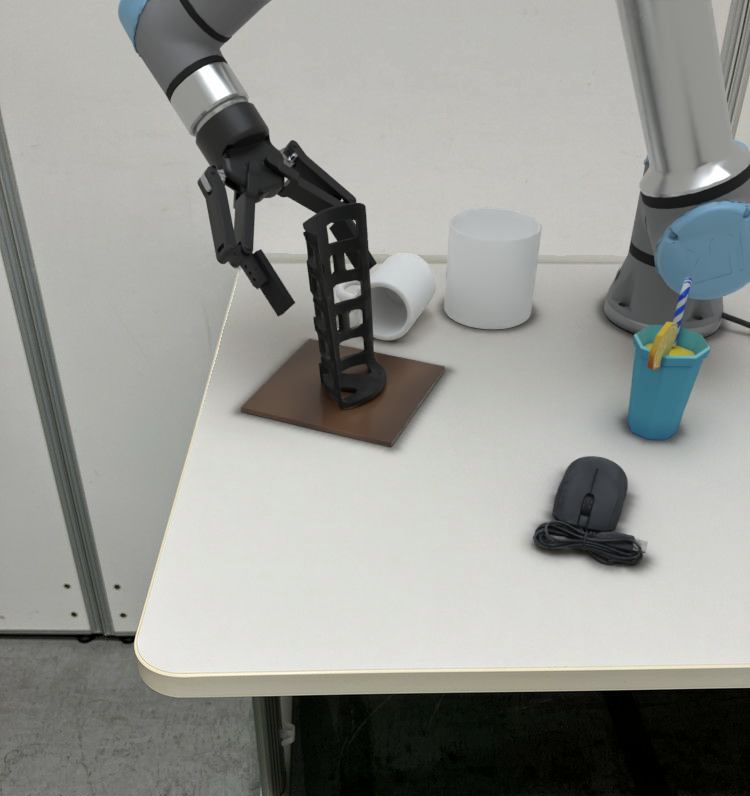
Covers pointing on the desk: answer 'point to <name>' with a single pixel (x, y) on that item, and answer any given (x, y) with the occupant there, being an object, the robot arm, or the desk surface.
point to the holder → (342, 305)
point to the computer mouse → (591, 512)
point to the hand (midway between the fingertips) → (329, 289)
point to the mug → (395, 294)
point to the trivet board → (312, 407)
